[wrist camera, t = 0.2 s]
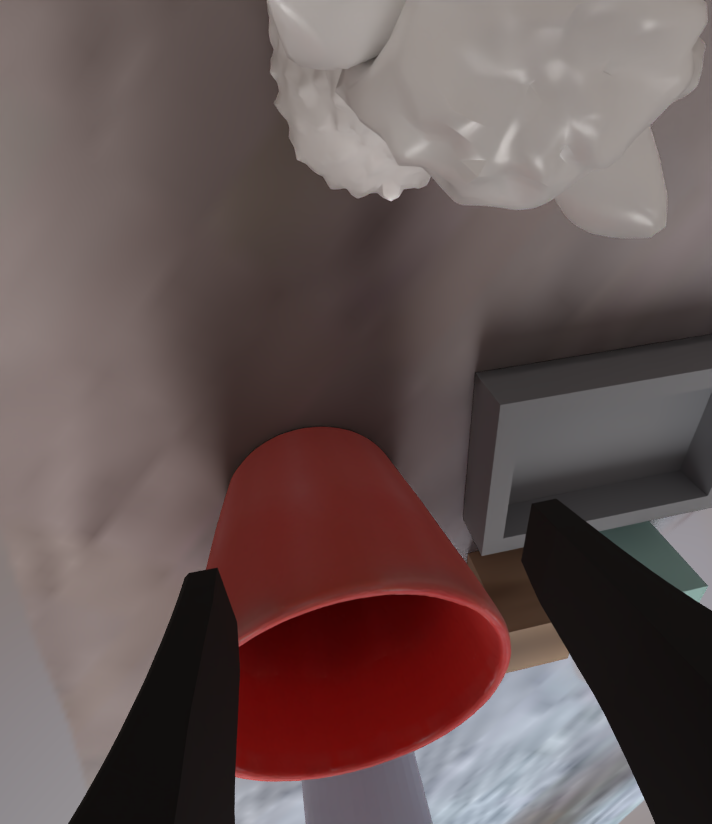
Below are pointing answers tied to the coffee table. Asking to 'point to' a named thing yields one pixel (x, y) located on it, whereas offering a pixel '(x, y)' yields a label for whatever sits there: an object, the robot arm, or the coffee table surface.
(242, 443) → the coffee table surface
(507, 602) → the walnut block
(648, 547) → the teal block
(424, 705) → the flower pot
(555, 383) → the tray
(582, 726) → the coffee table surface
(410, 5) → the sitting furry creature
